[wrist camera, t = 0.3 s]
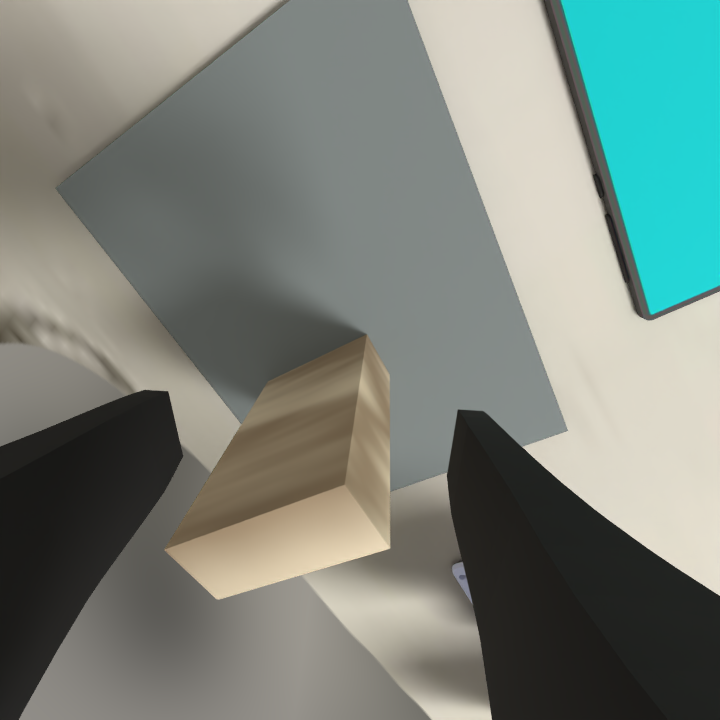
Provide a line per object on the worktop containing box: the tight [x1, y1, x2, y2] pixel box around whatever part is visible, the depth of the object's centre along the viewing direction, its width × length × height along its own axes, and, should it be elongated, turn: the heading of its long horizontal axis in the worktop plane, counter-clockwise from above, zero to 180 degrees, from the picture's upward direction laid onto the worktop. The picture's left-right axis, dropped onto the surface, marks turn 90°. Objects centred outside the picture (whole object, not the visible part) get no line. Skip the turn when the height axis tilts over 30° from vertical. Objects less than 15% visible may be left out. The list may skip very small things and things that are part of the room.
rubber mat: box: [55, 0, 568, 492], centre depth 18 cm, size 22×16×1 cm
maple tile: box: [164, 334, 390, 600], centre depth 15 cm, size 2×6×10 cm, turn 118°
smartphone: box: [544, 0, 720, 320], centre depth 14 cm, size 7×1×15 cm
